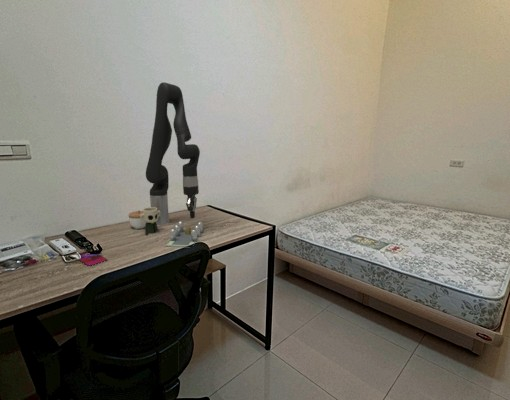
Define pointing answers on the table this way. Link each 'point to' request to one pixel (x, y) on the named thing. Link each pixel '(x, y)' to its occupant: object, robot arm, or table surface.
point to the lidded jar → (136, 220)
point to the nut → (188, 230)
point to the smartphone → (91, 258)
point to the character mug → (150, 219)
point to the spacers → (179, 229)
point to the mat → (181, 240)
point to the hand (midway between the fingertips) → (192, 217)
